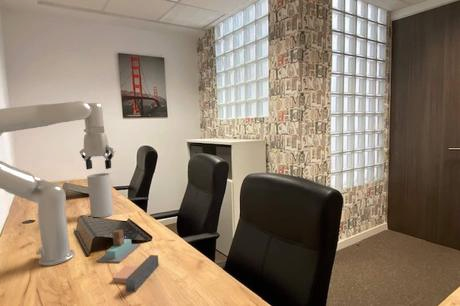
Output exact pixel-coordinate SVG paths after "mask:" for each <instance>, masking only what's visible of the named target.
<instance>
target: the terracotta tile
mask: <svg viewBox="0 0 460 306" xmlns="http://www.w3.org/2000/svg"><path fill="white" fill-rule="evenodd" d="M138 267H139V266H131V265H125V266H124V267H122V268H121V269H120V270H119V271H118V272H117V273H116V274H115V275H114V276H113V277H112V282H113V283H124V284H126V279H127V278H128V277H129V276H130V275H131V274H132V273H133V272H134V271H135V270H136V269H137V268H138Z"/></svg>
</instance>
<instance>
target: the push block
mask: <svg viewBox="0 0 460 306" xmlns="http://www.w3.org/2000/svg"><path fill="white" fill-rule="evenodd" d="M111 235H112V236H113V237H112V241H113V245H112V246H111V247H110V248H108V249H106V250H105V254H106V257H107V258H113V259H116V258H117V257H118V256H119V255H121V254H122V253H123V252H124V251H126V250H127V249H128V248H129V247H131V246H132V245H131V244H132V239H130V238H124V237H125V235H124V229H115V230H114V231H112V234H111Z"/></svg>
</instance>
